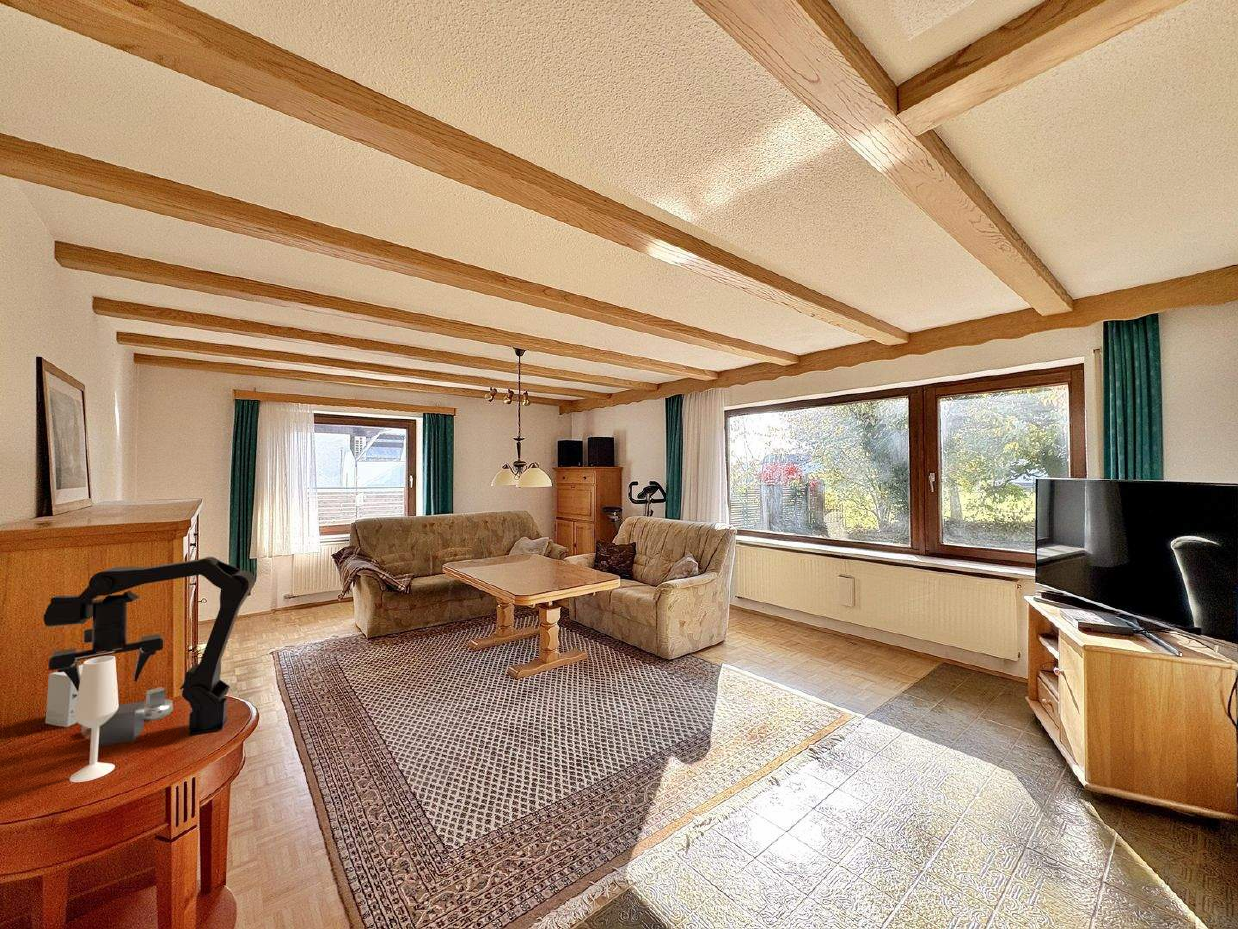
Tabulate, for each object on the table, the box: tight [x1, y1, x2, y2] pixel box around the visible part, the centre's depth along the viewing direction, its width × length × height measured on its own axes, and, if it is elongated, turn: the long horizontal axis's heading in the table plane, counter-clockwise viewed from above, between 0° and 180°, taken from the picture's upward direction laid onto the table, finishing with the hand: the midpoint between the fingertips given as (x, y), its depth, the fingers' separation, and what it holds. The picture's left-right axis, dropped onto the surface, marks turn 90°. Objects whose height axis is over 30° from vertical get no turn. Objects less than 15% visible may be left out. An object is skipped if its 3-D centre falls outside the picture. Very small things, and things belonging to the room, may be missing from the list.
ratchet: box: [80, 686, 174, 739], centre depth 127 cm, size 7×16×6 cm, turn 148°
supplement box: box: [45, 663, 84, 728], centre depth 127 cm, size 7×7×13 cm
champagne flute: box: [69, 655, 119, 783], centre depth 106 cm, size 7×7×24 cm
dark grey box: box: [98, 700, 146, 748], centre depth 119 cm, size 6×6×7 cm
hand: (108, 686), depth 118 cm, fingers open, 9 cm apart
